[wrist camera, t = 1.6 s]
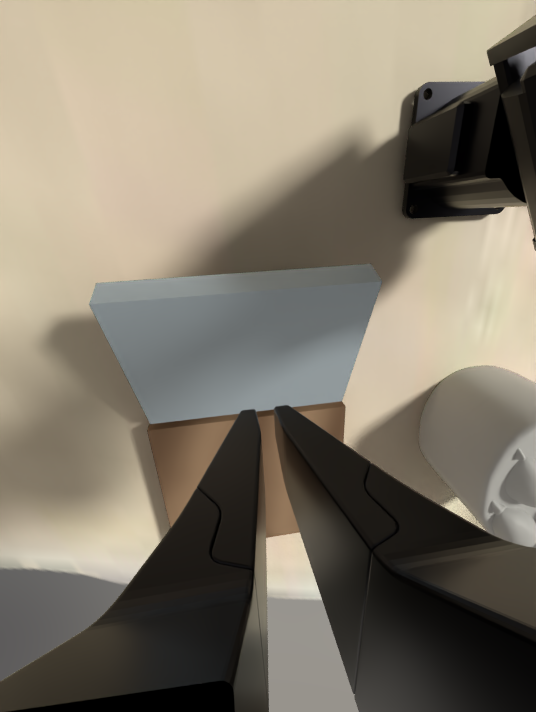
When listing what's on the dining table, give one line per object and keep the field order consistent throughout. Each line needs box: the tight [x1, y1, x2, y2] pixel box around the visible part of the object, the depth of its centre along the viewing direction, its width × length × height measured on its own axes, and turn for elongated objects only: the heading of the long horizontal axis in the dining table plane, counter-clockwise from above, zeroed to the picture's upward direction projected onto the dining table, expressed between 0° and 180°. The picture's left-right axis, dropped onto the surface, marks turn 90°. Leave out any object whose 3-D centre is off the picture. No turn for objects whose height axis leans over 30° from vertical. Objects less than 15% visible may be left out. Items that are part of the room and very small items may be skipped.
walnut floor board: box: [147, 401, 345, 538], centre depth 25 cm, size 14×12×2 cm
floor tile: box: [89, 264, 382, 424], centre depth 18 cm, size 13×10×2 cm
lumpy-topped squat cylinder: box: [419, 366, 536, 548], centre depth 24 cm, size 10×13×9 cm
